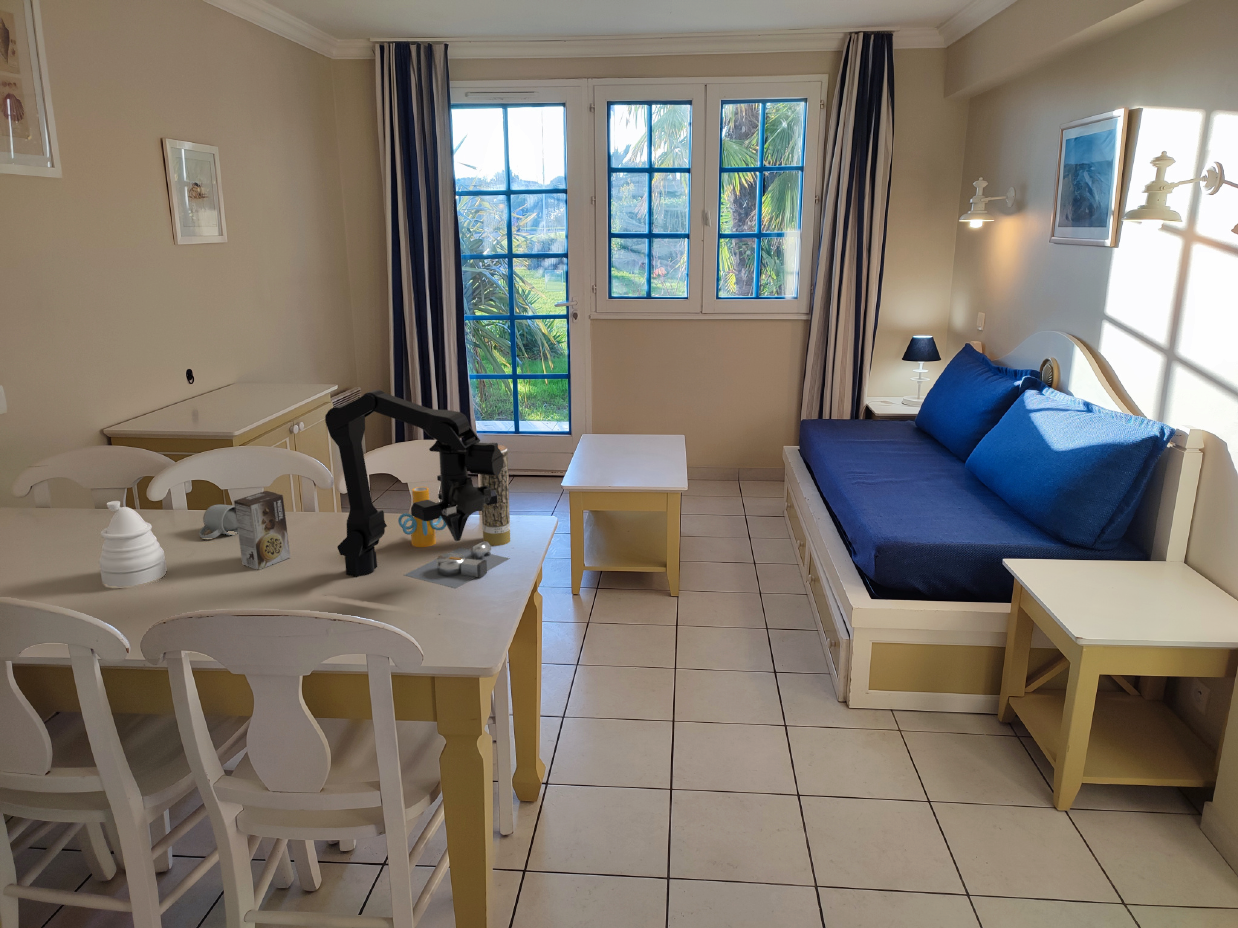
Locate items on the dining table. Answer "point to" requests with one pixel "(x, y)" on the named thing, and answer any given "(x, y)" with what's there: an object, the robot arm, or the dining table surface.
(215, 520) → the ceramic mug
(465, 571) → the dial knob with block
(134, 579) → the honey pot
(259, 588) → the dining table surface
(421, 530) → the cylinder
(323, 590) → the dining table surface
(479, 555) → the duct stub
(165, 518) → the dining table surface
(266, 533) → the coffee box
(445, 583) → the mat
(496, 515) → the bark covered log
